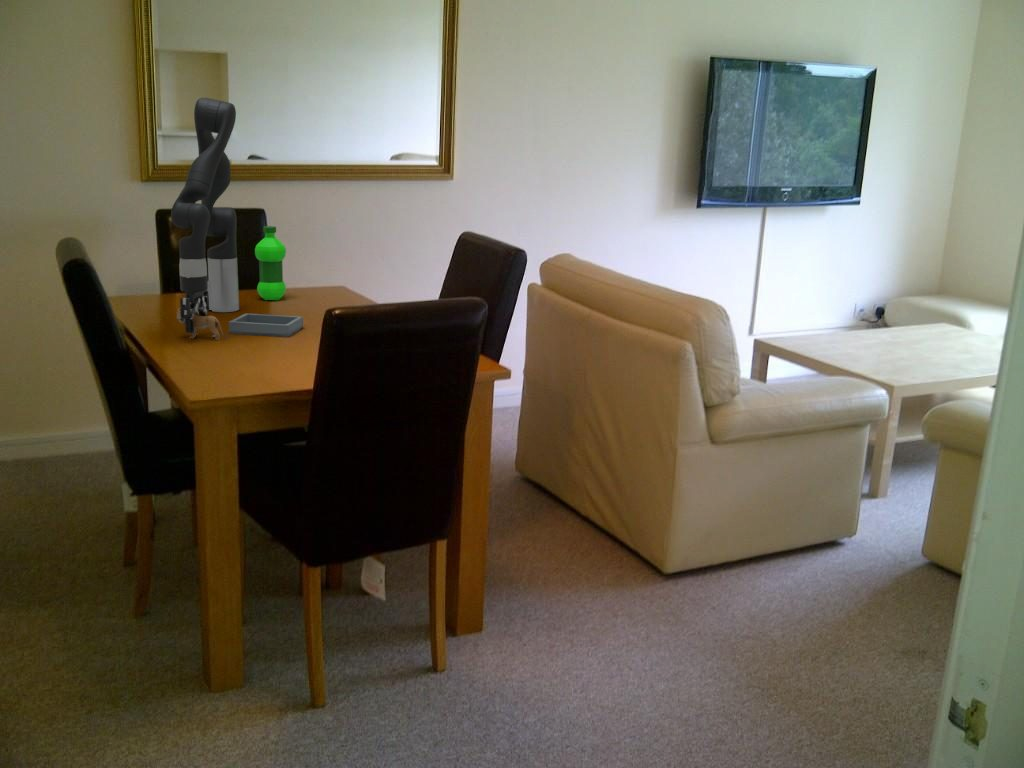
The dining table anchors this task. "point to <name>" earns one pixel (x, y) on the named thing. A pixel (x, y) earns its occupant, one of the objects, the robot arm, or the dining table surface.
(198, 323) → the lion figurine
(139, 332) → the dining table surface
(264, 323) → the tray
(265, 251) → the plastic bottle
